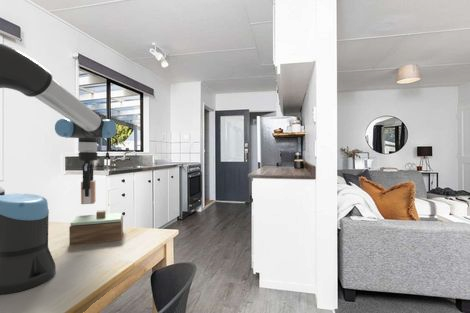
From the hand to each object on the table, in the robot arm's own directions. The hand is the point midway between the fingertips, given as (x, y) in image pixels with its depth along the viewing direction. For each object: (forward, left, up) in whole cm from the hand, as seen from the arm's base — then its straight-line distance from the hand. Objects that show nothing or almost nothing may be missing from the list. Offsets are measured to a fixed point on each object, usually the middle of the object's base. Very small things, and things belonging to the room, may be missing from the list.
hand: (88, 202), depth 117 cm
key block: (0, 0, 0) cm, 0 cm away
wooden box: (-15, -6, -12) cm, 20 cm away
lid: (-15, -6, -5) cm, 17 cm away
